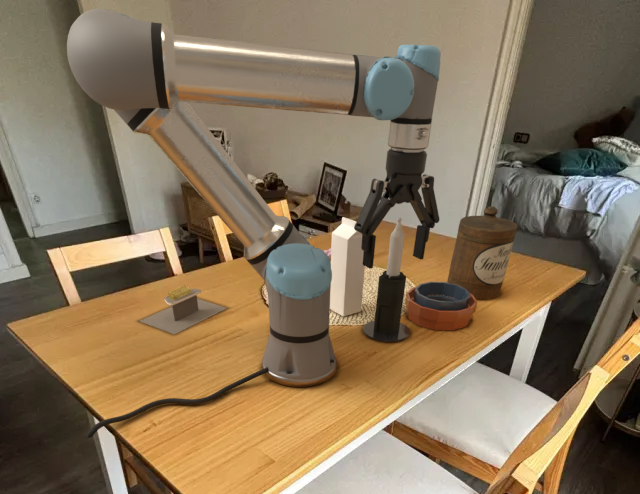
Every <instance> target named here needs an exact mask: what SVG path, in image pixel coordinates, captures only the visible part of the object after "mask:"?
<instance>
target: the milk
mask: <svg viewBox="0 0 640 494" xmlns="http://www.w3.org/2000/svg"><path fill="white" fill-rule="evenodd" d="M356 222H357V220H356V221H355V220H353V219H351V218H348V217H345V216H342V218H341V223H340V225H338V227H336V228H335V229H334V230H333V231H332V232H331V241H330V242H331V243H330V246H331V247H330V248H331V258H330V262H331V270H332V281H331V290H330V311H333V312H334V313H336V314H338V315H340V316H341V317H343V318H344V317H347V316H351V315H353V314H357V313H360V312H362V305H363V293H364V292H363V291H364V281H365V268H366V266H364V265H363V253H364V251H363V250H362V248H361V245H362V233H360V232H358V231H356V230H355V229H354V226H355V224H356Z"/></svg>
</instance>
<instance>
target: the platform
mask: <svg viewBox="0 0 640 494" xmlns="http://www.w3.org/2000/svg"><path fill="white" fill-rule="evenodd" d="M167 294H168V296H165V297H164V298H163V299H164V302H165V303H166V304H167V306H170V307H167V308H165V309H163V310H160V311H158V312H155V313H153V314H152V315H149V316H148V317H145V318H142V319H141V320H139V322H141V323H142V324H146V325H149V326H151V327H154V328H156V329H159V330H161V331H164V332H167V333H169V334H171V335H176V334H179V333H180V332H182V331H184V330H186V329H188V328H191V327H193V326H195V325H197V324H199V323H201V322H202V321H204V320H206V319H208V318H210V317H212V316H215V315H216V314H218V313H220V312H223V311H224V310H227V307H225V306H222V305H219V304H215V303H212V302H209V301H206V300H203V299H201V298H198V296H197V295H201V294H202V290H201V289H199V288H192V287H191V285H189V286H188V287H187V286H186V284H184V285H181V286H179V287H176V288H174V289H172V290H170V291H167Z"/></svg>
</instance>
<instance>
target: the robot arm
mask: <svg viewBox="0 0 640 494" xmlns="http://www.w3.org/2000/svg"><path fill="white" fill-rule="evenodd" d="M66 55H67V61H68V64H69V68H70V70H71V73H72V75H73V76H74V79H75V80H76V82H77V84H78V85H79V87H80V88H81V89H82V90H83V92H85V94H86V95H87V96H88V97H89V98H90V99H92V101H94V102H96V103H97V104H99V105H100V106H102V107H104V108H107V109H111V110H113V111H114V112H115V113H116V114H117V115H118V116H119V118H121V120H122V121H123V122H124V123H125V124H126V125H127V126H128V128H129V129H130V130H131V131H132V132H133V133H134V134H136V135H137V134H138V135H143V136H144V135H145V136H148V137H149V138H150V139H151V140H152V141H153V142H154V144H155V145H156V146H157V147H158V148H159V149H160V151H161V152H162V153H163V154H164V156H166V158H167V159H168V161H170V162H171V163H172V164H173V166H174V167H175V168H176V169H177V170H178V171H179V172H180V174H181V175H182V176H183V177H184V178H185V180H186V181H187V182H188V183H189V184H190V185H191V187H192V188H194V190H195V192H197V194H199V196H200V197H201V198H202V199H203V200H204V201H205V202H206V204H207V205H208V206H209V207H210V208H211V210H212V211H213V212H214V213H215V214H216V215H217V216H218V217H219V218H220V220H221V221H222V222H223V223H224V225H225V226H226V228H228V229H229V230H230V232H231V233H232V234H233V235H234V236H235V237H236V238H237V240H239V242H240V243H241V244H242V246H243V258H244V259H245V260H246V261H247V263H248V264H249V265H250V266H251V267H252V269H254V270H255V272H256V273H257V274H258V275H259V276H260V277H261V278H262V280H263V281H264V285H265V289H266V293H267V300H268V322H269V335H268V338H267V341H266V345H265V349H264V352H263V355H262V360H261V364H262V365H261V367H262V369H260V370H257V371H255V372H253V373H251V374H249V375H247V376H244V377H243V378H240V379H238V380H236V381H234V382H232V383H230V384H228V385H226V386H224V387H222V388H221V389H219V390H217V391H215V392H214V393H212V394H210V395H207V396H205V397H200V398H178V397H177V398H175V397H170V398H169V397H168V398H162V399H158V400H154V401H152V402H148V403H147V404H144V405H143V406H140V407H139V408H137V409H135V410H133V411H130V412H128V413H125V414H122V415H119V416H115V417H110V418H106V419H103V420H101V421H99V422H97V423H96V424H94V425H93V426H92V427H91V428H90V429H89V430H88V432H87V433H86V435H85V438H86V439H90V438H92V437H93V436H94V435H95V434H96V432H98V431H99V430H100V429H101V428H103V427H105V426H108V425H113V424H116V423H120V422H125V421H128V420H129V419H133V418H134V417H138V416H139V415H140V414H143V413H144V412H146V411H148V410H150V409H152V408H153V409H154V408H155V407H159V406H163V405H167V404H168V405H169V404H181V405H200V404H204V403H208V402H211V401H213V400H215V399H217V398H220V397H221V396H223V395H224V394H225V393H227V392H229V391H231V390H233V389H235V388H237V387H239V386H241V385H243V384H245V383H247V382H249V381H252V380H254V379H256V378H258V377H261V376H263V375H265V377H267V378H268V379H269V380H271V381H272V382H274V383H276V384H279V385H283V386H288V387H295V388H296V387H297V388H303V387H305V388H306V387H312V386H316V385H320V384H323V383H326V382H327V381H328V380H331V378H332V377H333V376H334V375H335V374H336V371H337V361H338V360H337V357H336V354H335V353H336V352H335V349H334V346H333V344H332V340H331V337H330V313H331V309H330V290H331V281H332V270H331V258H330V257H329V256H328V254H326V253H325V252H324V250H323V249H322V248H319V247H316V246H315V245H311V243H310V242H309V241H308V239H307V238H306V237H305V236H303V235H302V234H301V233H300V232H299V231H298V229H297V228H296V226H295V225H294V224H293V223H292V222H291V220H290V219H289V218H288V217H287V216H285V215H284V216H283V215H277V214H275V212H274V211H273V209H272V208H271V207H270V206H269V205H268V203H267V202H266V200H264V199H263V197H262V196H261V195H260V193H259V192H258V190H257V189H256V188H255V187H254V185H253V184H252V183H251V182H250V180H249V179H248V178H247V176H246V175H245V174H244V173H243V172H242V170H241V169H240V167H239V166H238V165H237V164H236V162H235V161H234V160H233V158H232V157H231V156H230V154H229V153H228V152H227V151H226V149H225V148H224V147H223V145H222V144H221V143H220V142H219V140H218V139H217V138H216V136H214V134H213V133H212V131H211V130H210V129H209V128H208V126H207V125H206V124H205V123H204V121H203V120H202V119H201V117H200V116H199V114H198V113H197V112H196V111H195V110H194V109H193V107H192V106H191V105H190V104H189V103H195V104H205V105H206V104H207V105H219V106H220V105H221V106H231V107H245V108H256V109H270V110H280V111H282V110H283V111H295V112H305V113H318V114H331V115H344V116H351V117H361V118H362V117H364V118H374V119H375V120H377V121H389V130H388V131H389V132H388V138H387V139H388V140H387V145H388V147H390V148H389V149H388V150H387V151H386V161H385V162H386V163H385V171H386V177H385V179H384V180H382V179H378V178H373V179H372V180H371V183H370V188H369V189H370V190H369V193H368V195H367V197H366V200H365V202H364V204H363V206H362V207H361V208H362V209H361V210H360V212H359V215H358V218H357V220H356V224H355V226H354V229H355V230H356V231H358V232H360V233H362V245H361V248H362V250H363V251H364V253H363V265H364V266H365V268H368V269H369V270H370V269H371V270H372V269H374V261H375V260H374V259H375V249H376V239H377V235H375V234H374V233H375V231H376V230H377V228H378V227H379V226H380V224H381V223H382V222H383V220H384V218H385V217H386V216H387V214H388V213H389V211H390V210H391V209H392V208H393V207H395V205H401V204H403V203H406V204H410V206H411V207H412V209H413V211H414V213H415V215H416V217H417V219H418V220H419V223H420V224H418V225H416V231H415V240H414V247H413V251H412V252H413V253H412V256H413V257H414V258H416V259H418V260H424V259H425V258H424V257H425V252H426V251H425V250H426V246H427V245H426V244H427V243H428V241H429V237H430V232H431V231H430V230H431V229H434V228H435V226H436V224H438V223H440V215H439V210H438V205H437V200H436V199H437V198H436V193H435V187H434V186H435V177H434V176H433V175H429V174H427V173H425V170H426V163H427V157H428V153H427V151H426V149H428V147H429V143H430V136H431V130H432V123H433V114H434V107H435V102H436V95H437V89H438V83H439V82H440V81H439V80H440V68H441V56H442V55H441V50H440V48H439V47H438V46H437V45H433V44H432V45H430V44H401V45H399V47H398V49H397V53H396V55H395V57H393V56H382V57H381V56H375V55H366V54H365V55H364V54H352V53H349V52H347V53H346V52H338V51H329V50H321V49H310V48H302V47H301V48H300V47H293V46H284V45H276V44H275V45H274V44H265V43H256V42H247V41H239V40H229V39H221V38H211V37H201V36H194V35H193V36H192V35H183V34H175V33H173V32H172V30H171V29H170V28H169V27H168V26H167V24H165V23H163V22H154V21H149V20H148V21H147V20H142V19H138V18H134V17H132V16H129V15H127V14H123V13H121V12H117V11H114V10H112V9H107V8H93V9H89V10H87V11H84V12H83V13H81V14H79V16H78V17H77V18H76V19H75V20H74V21H73V23H72V25H71V26H70V28H69V31H68V34H67V41H66ZM424 173H425V174H424ZM420 189H421V194H422V196H421V194H420V191H419V190H420ZM422 200H423V201H422Z"/></svg>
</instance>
